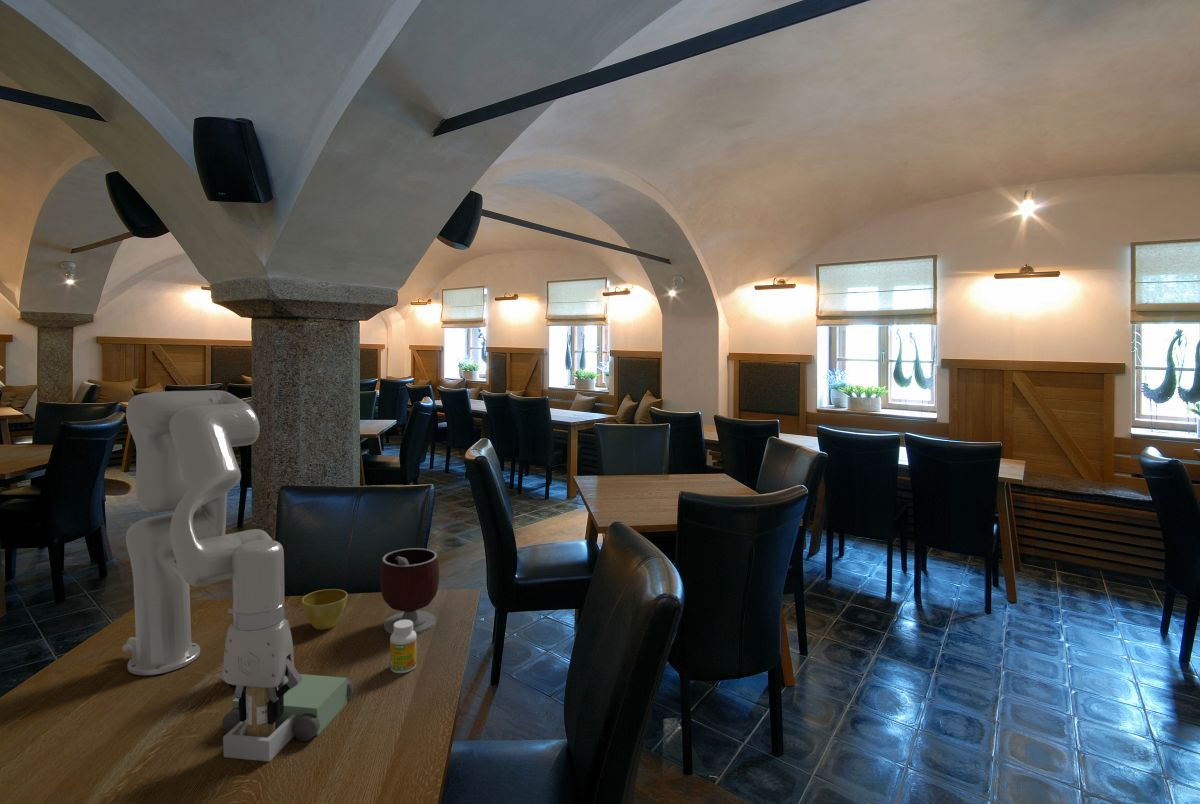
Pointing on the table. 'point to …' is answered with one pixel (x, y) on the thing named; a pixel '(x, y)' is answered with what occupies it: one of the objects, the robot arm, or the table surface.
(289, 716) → the mower deck
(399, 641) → the supplement bottle
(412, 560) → the dark red goblet
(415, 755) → the table surface
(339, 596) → the flower pot
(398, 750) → the table surface
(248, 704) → the sprinkles bottle
